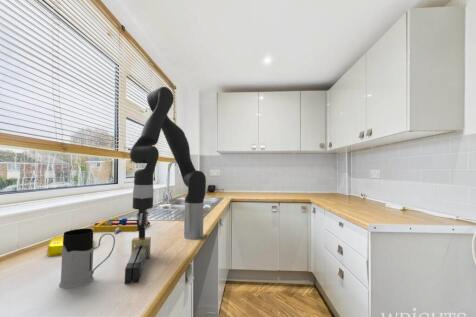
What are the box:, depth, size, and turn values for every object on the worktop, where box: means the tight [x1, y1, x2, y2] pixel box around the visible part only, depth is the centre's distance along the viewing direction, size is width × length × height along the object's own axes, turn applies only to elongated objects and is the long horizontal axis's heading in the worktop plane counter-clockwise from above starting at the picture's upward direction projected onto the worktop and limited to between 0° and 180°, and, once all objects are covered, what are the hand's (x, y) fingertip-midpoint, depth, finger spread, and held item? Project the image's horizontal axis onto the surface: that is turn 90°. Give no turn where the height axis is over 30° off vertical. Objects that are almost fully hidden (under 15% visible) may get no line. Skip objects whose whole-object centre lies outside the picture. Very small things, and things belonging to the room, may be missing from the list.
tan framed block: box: [131, 236, 152, 259], centre depth 90 cm, size 3×6×7 cm, turn 105°
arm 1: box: [124, 246, 140, 285], centre depth 80 cm, size 20×2×4 cm, turn 16°
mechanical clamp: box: [92, 217, 151, 234], centre depth 131 cm, size 18×6×30 cm
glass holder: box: [58, 228, 116, 290], centre depth 73 cm, size 9×14×15 cm, turn 114°
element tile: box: [46, 234, 64, 257], centre depth 101 cm, size 15×15×5 cm
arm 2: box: [131, 246, 148, 284], centre depth 81 cm, size 20×2×4 cm, turn 14°
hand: (141, 240), depth 93 cm, fingers closed
